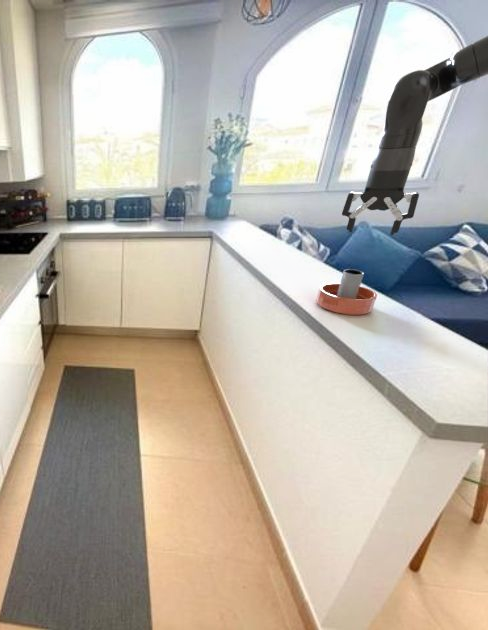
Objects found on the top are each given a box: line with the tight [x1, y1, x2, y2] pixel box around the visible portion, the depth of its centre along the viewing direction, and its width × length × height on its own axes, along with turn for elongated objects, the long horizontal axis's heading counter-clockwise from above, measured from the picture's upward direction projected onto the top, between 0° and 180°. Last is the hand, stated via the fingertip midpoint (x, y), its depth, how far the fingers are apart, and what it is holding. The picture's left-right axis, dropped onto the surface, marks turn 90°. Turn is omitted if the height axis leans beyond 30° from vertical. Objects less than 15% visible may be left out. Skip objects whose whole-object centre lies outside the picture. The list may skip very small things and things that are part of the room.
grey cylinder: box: [337, 269, 365, 299], centre depth 100 cm, size 4×4×10 cm
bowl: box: [315, 282, 378, 316], centre depth 101 cm, size 13×13×5 cm
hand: (370, 233), depth 92 cm, fingers open, 8 cm apart
